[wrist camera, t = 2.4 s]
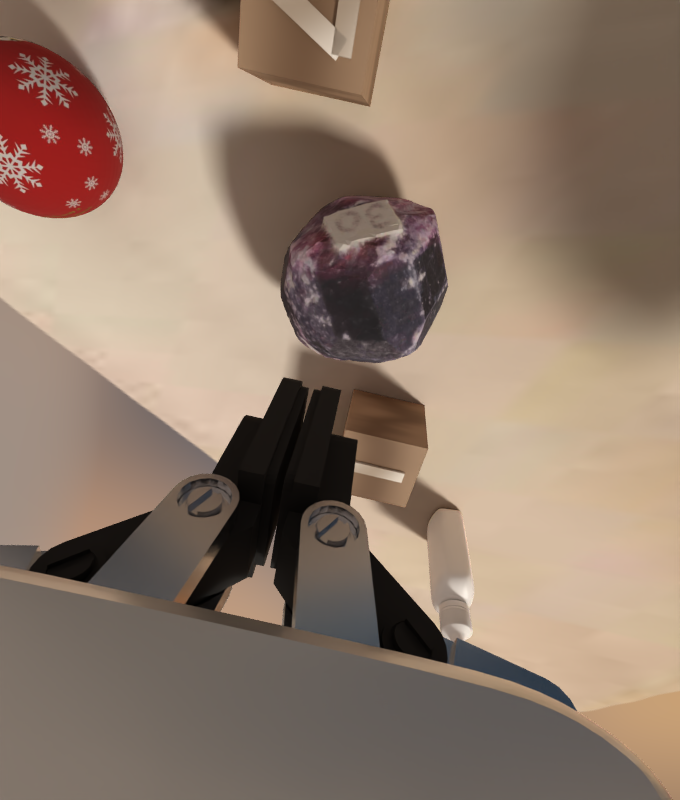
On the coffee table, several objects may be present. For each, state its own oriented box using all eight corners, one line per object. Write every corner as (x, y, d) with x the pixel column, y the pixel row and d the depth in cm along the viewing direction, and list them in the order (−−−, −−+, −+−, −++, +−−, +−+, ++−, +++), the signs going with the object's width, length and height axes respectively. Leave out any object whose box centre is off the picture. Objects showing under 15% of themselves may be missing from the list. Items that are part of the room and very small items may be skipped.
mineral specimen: (493, 223, 25) (475, 333, 19) (399, 323, 33) (366, 420, 28) (358, 123, 23) (292, 212, 17) (293, 255, 31) (235, 345, 26)
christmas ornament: (35, 193, 30) (-113, 209, 21) (10, 38, 25) (-192, -20, 17) (152, 222, 30) (50, 251, 21) (147, 73, 25) (17, 33, 17)
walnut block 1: (424, 404, 34) (428, 450, 29) (404, 459, 38) (405, 509, 32) (353, 388, 34) (345, 431, 29) (340, 444, 38) (330, 492, 32)
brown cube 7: (396, -34, 21) (394, -93, 16) (370, 106, 25) (361, 94, 19) (283, -58, 21) (244, -126, 16) (271, 84, 25) (236, 66, 19)
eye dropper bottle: (481, 521, 40) (508, 647, 30) (444, 551, 43) (457, 676, 33) (445, 500, 39) (460, 622, 29) (409, 532, 42) (412, 654, 32)
